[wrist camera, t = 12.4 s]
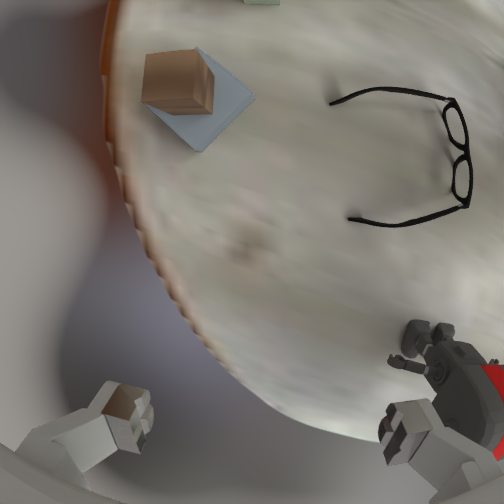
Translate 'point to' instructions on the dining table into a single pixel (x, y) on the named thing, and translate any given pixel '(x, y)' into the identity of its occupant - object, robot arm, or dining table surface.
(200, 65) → the walnut block
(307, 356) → the dining table surface
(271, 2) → the sage block
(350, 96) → the glasses
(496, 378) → the toy robot
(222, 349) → the dining table surface
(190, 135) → the slate pedestal
